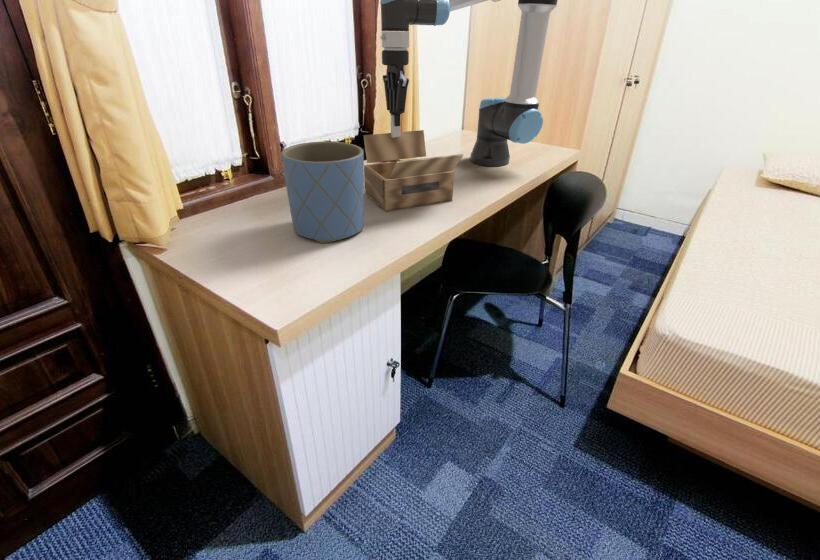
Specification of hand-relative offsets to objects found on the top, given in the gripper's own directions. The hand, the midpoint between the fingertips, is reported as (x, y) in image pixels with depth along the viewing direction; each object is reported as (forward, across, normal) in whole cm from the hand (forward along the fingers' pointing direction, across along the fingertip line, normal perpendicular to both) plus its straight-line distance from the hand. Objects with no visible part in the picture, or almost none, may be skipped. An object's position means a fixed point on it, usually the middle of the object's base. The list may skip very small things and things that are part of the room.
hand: (395, 136), depth 132 cm
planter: (+17, +22, -29) cm, 40 cm away
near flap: (+4, +20, 0) cm, 21 cm away
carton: (+16, +9, 0) cm, 19 cm away
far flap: (+3, 0, 0) cm, 3 cm away
